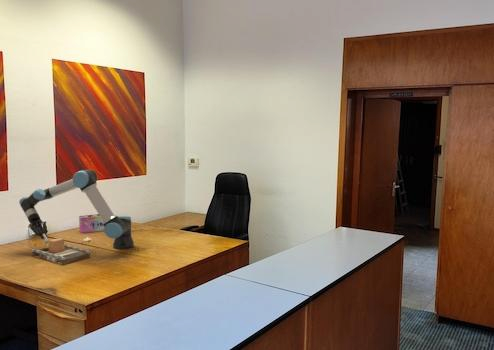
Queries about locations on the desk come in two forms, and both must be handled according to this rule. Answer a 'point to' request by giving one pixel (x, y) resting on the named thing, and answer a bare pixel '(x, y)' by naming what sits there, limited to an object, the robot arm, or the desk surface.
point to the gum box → (90, 223)
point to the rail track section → (62, 254)
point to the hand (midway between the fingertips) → (46, 242)
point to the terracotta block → (56, 245)
